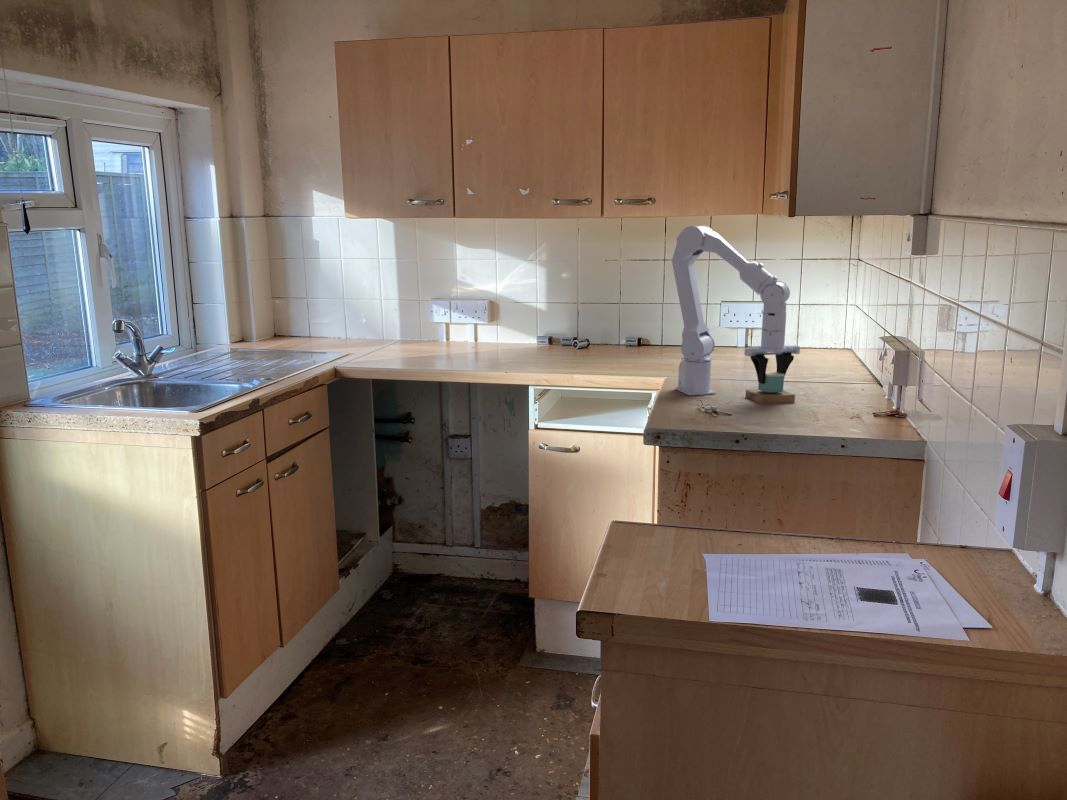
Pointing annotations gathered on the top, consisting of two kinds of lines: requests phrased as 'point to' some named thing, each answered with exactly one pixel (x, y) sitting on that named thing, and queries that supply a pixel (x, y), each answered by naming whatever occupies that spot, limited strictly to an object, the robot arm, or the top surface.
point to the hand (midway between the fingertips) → (770, 382)
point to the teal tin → (772, 382)
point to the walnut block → (770, 397)
